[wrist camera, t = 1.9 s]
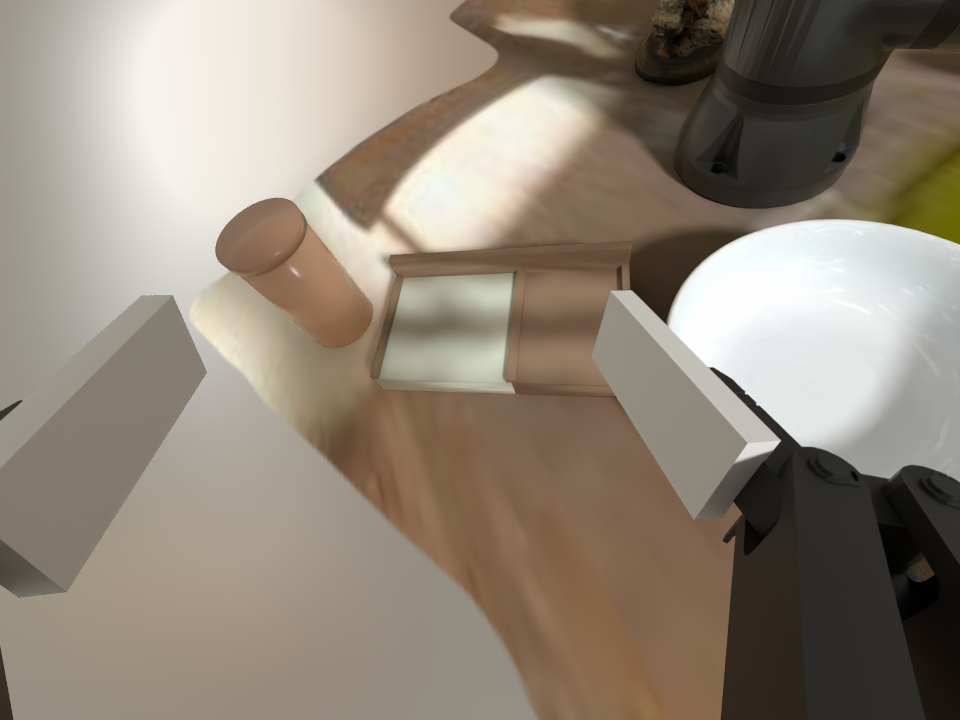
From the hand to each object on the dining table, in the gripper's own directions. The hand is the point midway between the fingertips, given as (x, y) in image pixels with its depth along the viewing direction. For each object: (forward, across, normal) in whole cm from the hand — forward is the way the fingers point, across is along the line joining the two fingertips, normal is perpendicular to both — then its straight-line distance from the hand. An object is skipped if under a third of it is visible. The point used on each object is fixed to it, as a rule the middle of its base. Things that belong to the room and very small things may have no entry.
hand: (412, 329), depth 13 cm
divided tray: (+20, +8, -13) cm, 25 cm away
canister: (+28, -8, -16) cm, 33 cm away
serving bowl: (+7, +28, -11) cm, 31 cm away
